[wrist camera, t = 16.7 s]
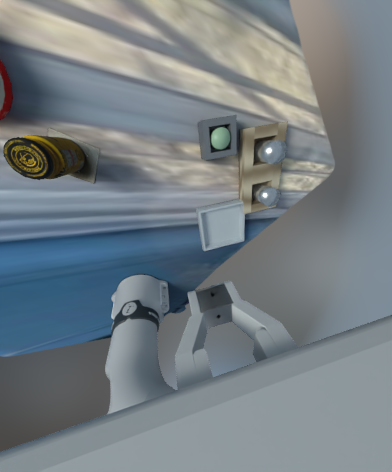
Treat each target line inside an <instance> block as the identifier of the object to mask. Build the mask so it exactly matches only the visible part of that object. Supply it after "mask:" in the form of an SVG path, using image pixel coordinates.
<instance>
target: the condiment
mask: <svg viewBox="0 0 392 472" xmlns="http://www.w3.org/2000/svg"><path fill="white" fill-rule="evenodd" d="M99 151H100V149H98V148H96V147H93V146H91V145H88V144H86V143H84V142H81V141H79V140H77V139H74V138H72V137H70V136H67V135H65V134H63V133H60V132H58V131H56V130H53V129H51V128H48V136H36V135H28V136H24V137H22V138H19V137H17V138H12V139H10V140H8V141H7V142H6V143H5V145H4V157H5V158H6V161H7V162H8V164H9V165H10V166H11V167H12V168H13V169H14V170H15V171H16V172H18V173H20V174H21V175H23V176H25V177H28V178H31V179H38V180H40V179H44V178H45V179H54V178H58V177H61V176H64V175H67V174H68V175H71V176H74V177H76V178H80V179H82V180H85V181H88V182H91V183H94V180H95V175H96V170H97V164H98V158H99ZM85 153H86V154H85ZM87 155H88V157H87ZM78 171H79V172H78Z"/></svg>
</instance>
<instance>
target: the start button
mask: <svg viewBox="0 0 392 472" xmlns="http://www.w3.org/2000/svg"><path fill="white" fill-rule="evenodd" d="M209 136H210V146H211V147H212V148H214V149H224V148H226V147H227V146H228V144H229V142H230V133H229V131H228V130H227V129H226V128H224V127H220V128H216V129H214V130H212V131H211V132H210V134H209Z"/></svg>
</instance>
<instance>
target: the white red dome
mask: <svg viewBox="0 0 392 472" xmlns="http://www.w3.org/2000/svg"><path fill="white" fill-rule="evenodd" d="M12 100H13V96H12V87H11V82H10V79H9V77H8V74H7V71H6V69H5V66H4V65H3V63H2V61H1V60H0V120H1V119H3V118H4V117H5V116H6V114H7V113H8V112H9V111H10V108H11V104H12Z"/></svg>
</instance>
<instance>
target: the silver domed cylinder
mask: <svg viewBox="0 0 392 472" xmlns="http://www.w3.org/2000/svg"><path fill="white" fill-rule="evenodd" d="M280 197H281V193H280V191H279V190H278V189H275V188H273V187H270V186H267V185H264V184H262V183H257V184H254V185H253V186H252V198H253V199H255V200H257V201H258V202H260V203H262V204H264V205H266V206H268V207H272V206H274V205H276V204H277V203H278V201H279V200H280Z"/></svg>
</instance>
